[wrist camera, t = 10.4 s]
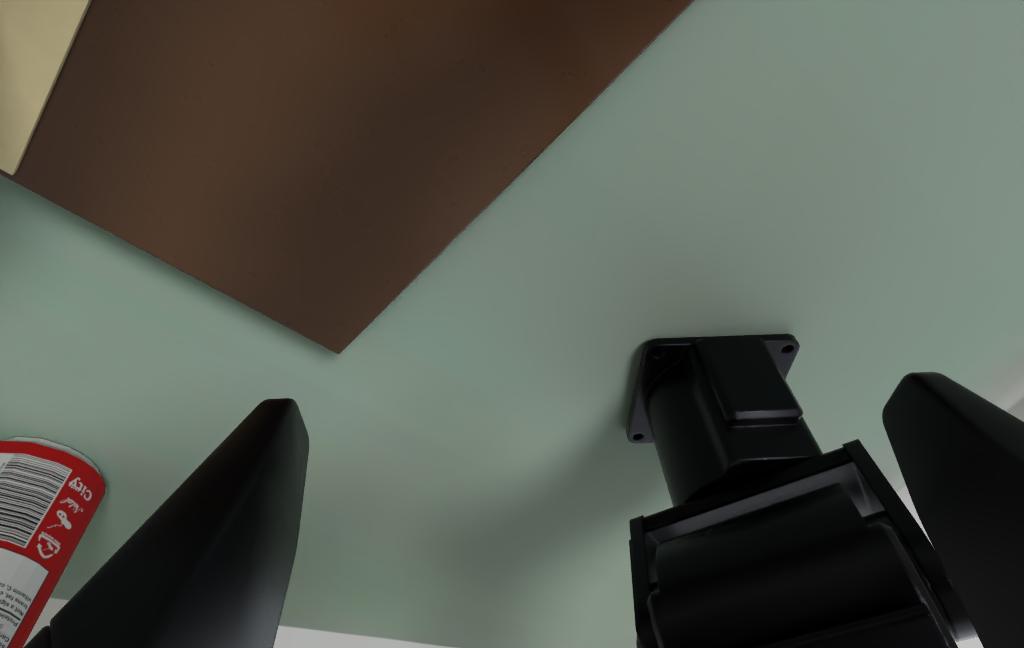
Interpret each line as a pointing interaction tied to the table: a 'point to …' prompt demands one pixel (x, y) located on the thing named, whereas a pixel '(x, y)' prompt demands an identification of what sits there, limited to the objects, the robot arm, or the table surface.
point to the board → (299, 129)
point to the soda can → (39, 525)
